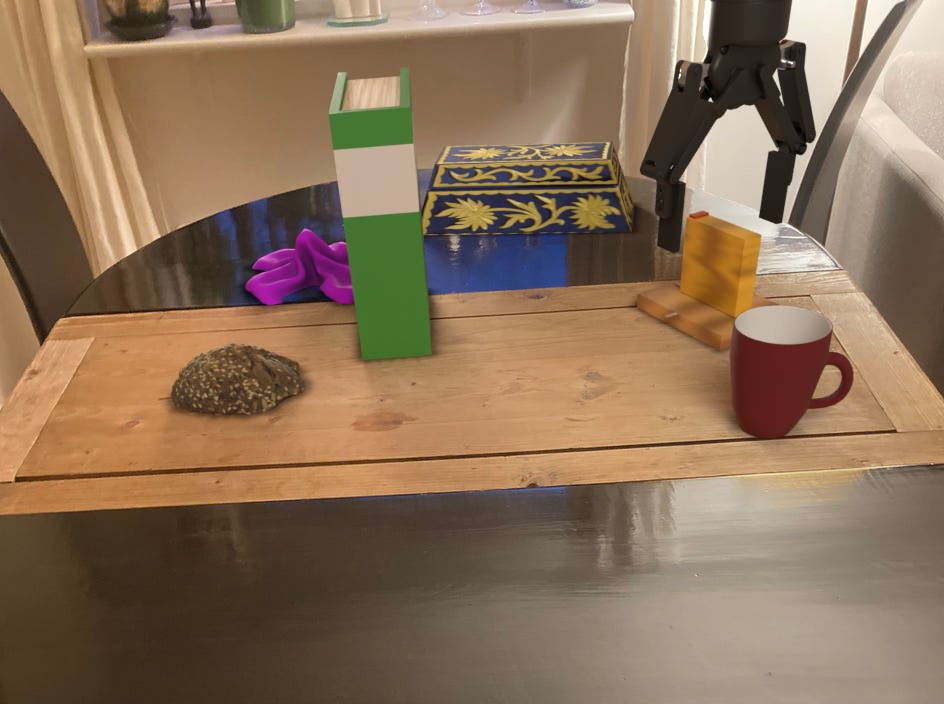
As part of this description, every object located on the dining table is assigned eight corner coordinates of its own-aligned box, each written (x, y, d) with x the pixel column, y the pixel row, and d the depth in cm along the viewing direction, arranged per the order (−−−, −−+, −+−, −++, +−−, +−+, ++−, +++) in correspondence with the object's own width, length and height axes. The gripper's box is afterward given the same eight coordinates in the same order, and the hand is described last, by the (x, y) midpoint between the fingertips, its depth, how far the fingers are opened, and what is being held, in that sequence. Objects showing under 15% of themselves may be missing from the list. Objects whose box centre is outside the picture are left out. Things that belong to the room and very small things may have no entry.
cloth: (389, 305, 113) (383, 253, 109) (234, 317, 113) (222, 264, 109) (393, 240, 130) (388, 193, 126) (258, 250, 130) (248, 203, 126)
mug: (827, 407, 89) (849, 301, 82) (850, 451, 83) (876, 341, 76) (712, 410, 90) (725, 306, 83) (727, 455, 84) (742, 346, 77)
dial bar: (750, 312, 101) (762, 232, 95) (734, 317, 100) (745, 237, 95) (695, 286, 107) (702, 209, 101) (679, 291, 106) (686, 214, 101)
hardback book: (367, 299, 115) (338, 72, 99) (428, 294, 115) (408, 66, 99) (363, 363, 102) (328, 113, 86) (432, 358, 102) (410, 107, 86)
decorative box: (425, 212, 138) (419, 145, 132) (635, 208, 134) (639, 138, 128) (412, 238, 130) (406, 167, 124) (635, 235, 126) (639, 161, 120)
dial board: (803, 325, 102) (807, 306, 101) (707, 358, 98) (709, 338, 96) (716, 286, 112) (718, 267, 110) (624, 314, 107) (625, 295, 106)
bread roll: (157, 409, 97) (143, 363, 93) (230, 358, 105) (220, 314, 102) (260, 430, 92) (250, 382, 89) (328, 375, 100) (321, 329, 97)
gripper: (823, -33, 91) (785, 200, 105) (610, 2, 83) (600, 250, 97) (884, -26, 86) (836, 218, 100) (664, 13, 78) (645, 273, 92)
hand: (720, 234), depth 99 cm, fingers open, 13 cm apart
